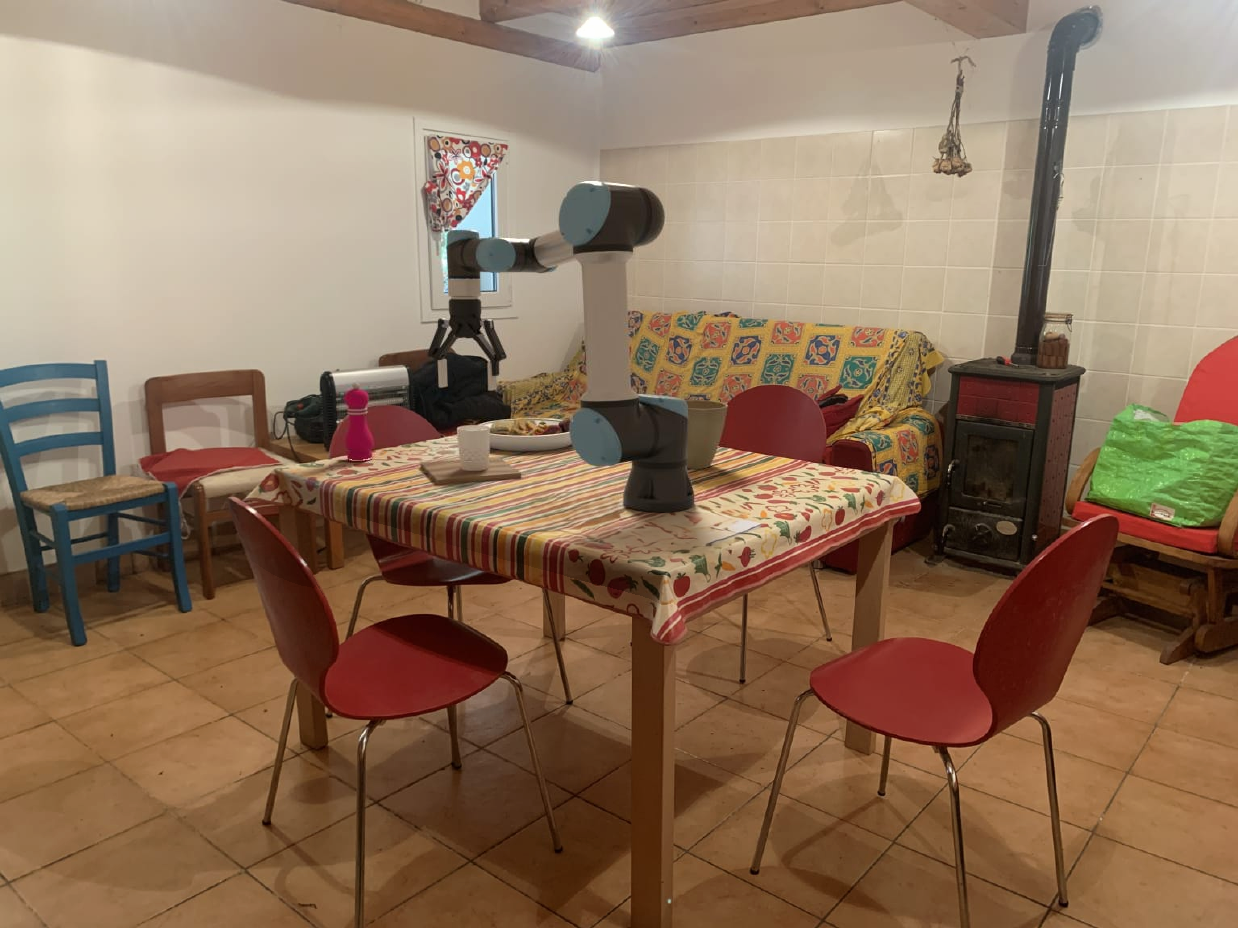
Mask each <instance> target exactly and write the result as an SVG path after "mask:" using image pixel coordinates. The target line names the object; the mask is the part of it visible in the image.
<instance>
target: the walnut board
mask: <svg viewBox="0 0 1238 928" xmlns="http://www.w3.org/2000/svg"><path fill="white" fill-rule="evenodd" d="M420 469H422V471H424V473H426V475H427V474H428V476H427V477H429V478H430V479H431V478H432V479H431V480H432V481H433V483H435V484H436V485H437V486H440V485H441V486H442V485H449V484H450V485H451V484H452V485H453V484H462V483H475V482H476V483H477V482H486V481H498V480H508V479H520V478H522V472H521V471H519V470H518V469H517V468H515V467H513V466H512V465H511V464H509V463H508V462H506V460H503V459H502V458H501V457H499V456H494V457H493V456H491V457H490V456H489V468H488V469H486V470H481V471H465V470H462V469H461V466H460V459H453V460H452V459H451V460H440V461H429V462H428V461H427V462H420Z"/></svg>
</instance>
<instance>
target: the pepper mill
mask: <svg viewBox="0 0 1238 928" xmlns="http://www.w3.org/2000/svg"><path fill="white" fill-rule="evenodd" d="M351 386H352V387H351V388H352V389H349V390H347V392H345V395H344V403H345V405H346V406H347V407H348V408H346V409H347V413H346V414H348V416H349V423H348V430H347V432H346V435H345V437H344V438H345V439H344V447H345V448H346V449H347V450H348V453H346V454H347V455H346V456H347V458H348V459H352V460H363V459H368V458H371V457H372V458H373V452H372V451H371V449H373V447H374V445H375V444H374V437H373V435H372V432H371V431H370V429H369V426H368V424H367V418H366V417H367V414H368V413H369V411H368V407H367V406H368V404H369V402H370V397H369V393H368V392H366V390H364V389H361V388H360V386H361V385H360V384H359V383H358V382H354V383H353V384H352V385H351ZM348 459H347V460H348Z"/></svg>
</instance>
